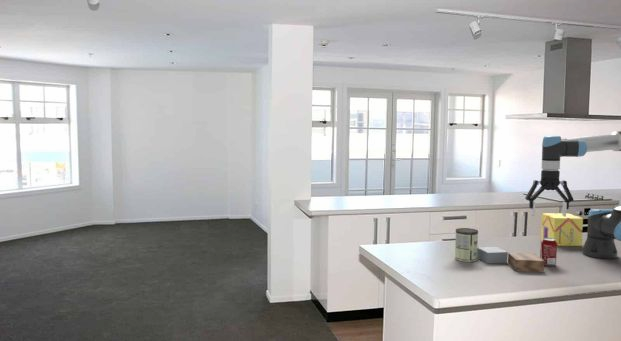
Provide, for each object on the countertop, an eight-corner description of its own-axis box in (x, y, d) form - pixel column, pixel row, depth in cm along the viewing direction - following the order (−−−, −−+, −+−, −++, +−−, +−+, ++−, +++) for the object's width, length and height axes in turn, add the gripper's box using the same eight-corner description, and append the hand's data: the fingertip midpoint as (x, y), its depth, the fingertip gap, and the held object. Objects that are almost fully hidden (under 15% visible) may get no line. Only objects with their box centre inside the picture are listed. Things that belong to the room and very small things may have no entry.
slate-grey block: (496, 256, 239) (496, 246, 239) (507, 262, 230) (507, 252, 229) (476, 257, 238) (477, 247, 238) (487, 263, 228) (487, 252, 228)
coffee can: (456, 255, 242) (457, 227, 241) (478, 257, 238) (479, 229, 237) (453, 260, 233) (454, 231, 232) (475, 263, 228) (476, 233, 227)
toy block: (581, 245, 264) (583, 218, 263) (553, 245, 264) (554, 218, 263) (567, 239, 279) (568, 213, 278) (540, 239, 279) (542, 213, 278)
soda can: (557, 266, 223) (559, 240, 222) (541, 266, 224) (543, 240, 223) (553, 263, 230) (554, 237, 229) (538, 262, 231) (539, 236, 230)
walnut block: (534, 264, 227) (535, 253, 226) (543, 272, 215) (544, 260, 214) (507, 263, 228) (508, 252, 228) (515, 270, 216) (515, 259, 216)
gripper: (576, 169, 226) (573, 215, 228) (519, 168, 229) (517, 213, 231) (583, 170, 218) (580, 218, 220) (524, 170, 222) (522, 216, 223)
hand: (548, 216), depth 226 cm, fingers open, 13 cm apart
